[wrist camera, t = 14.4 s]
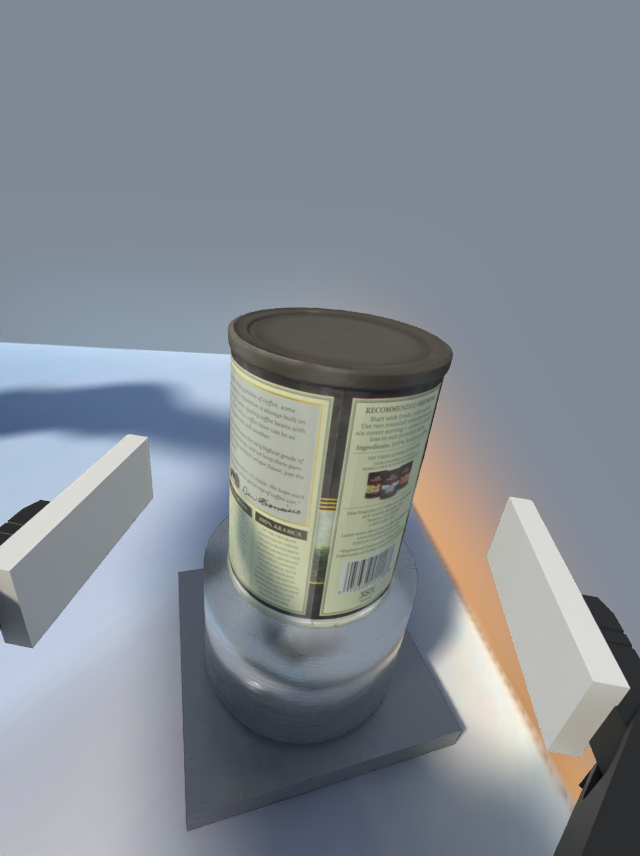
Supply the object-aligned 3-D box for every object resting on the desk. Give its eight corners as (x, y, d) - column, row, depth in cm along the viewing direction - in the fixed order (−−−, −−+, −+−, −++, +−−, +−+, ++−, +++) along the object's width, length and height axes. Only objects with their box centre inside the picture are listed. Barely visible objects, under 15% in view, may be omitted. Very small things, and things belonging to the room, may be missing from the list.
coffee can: (289, 487, 33) (307, 298, 26) (417, 547, 28) (477, 338, 22) (186, 569, 24) (175, 323, 18) (344, 669, 20) (405, 395, 14)
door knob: (179, 585, 35) (174, 490, 31) (359, 558, 40) (376, 473, 36) (187, 831, 22) (179, 726, 17) (455, 743, 27) (501, 645, 22)
